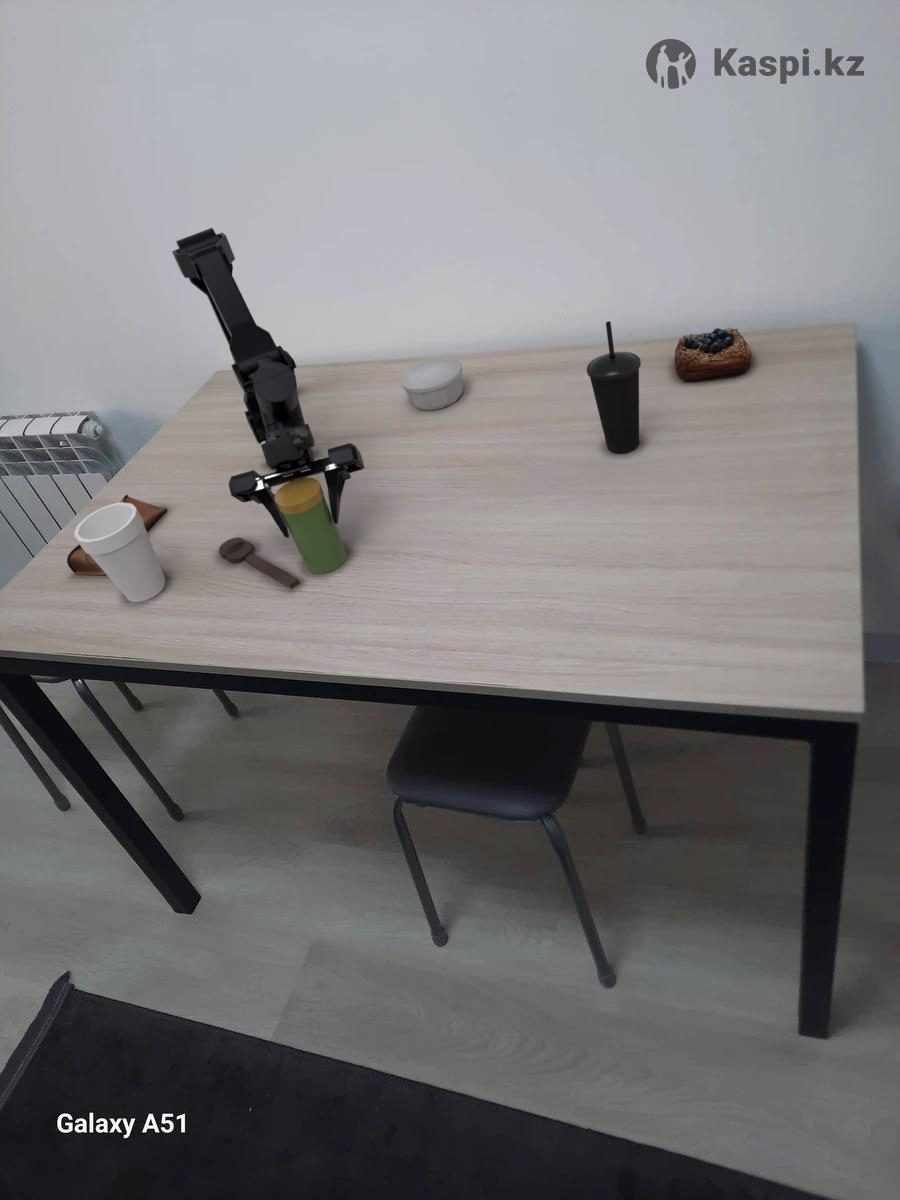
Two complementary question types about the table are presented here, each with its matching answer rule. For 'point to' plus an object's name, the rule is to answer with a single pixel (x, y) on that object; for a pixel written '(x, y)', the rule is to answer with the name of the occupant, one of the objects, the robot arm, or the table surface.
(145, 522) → the sunglasses case
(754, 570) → the table surface
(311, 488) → the pickle jar
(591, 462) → the table surface
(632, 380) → the drinking cup
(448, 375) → the ramekin
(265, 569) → the spoon
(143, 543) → the foam cup
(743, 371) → the pastry
